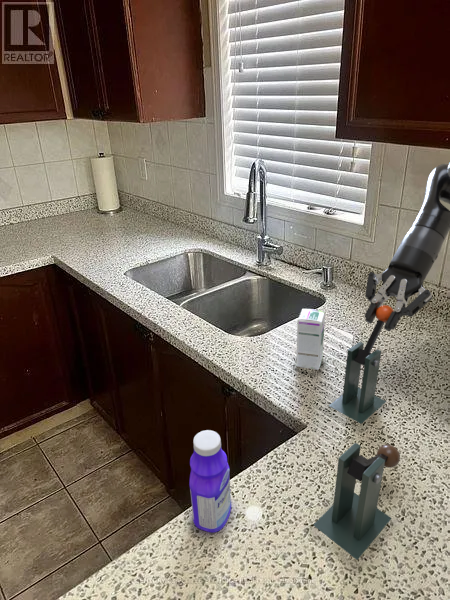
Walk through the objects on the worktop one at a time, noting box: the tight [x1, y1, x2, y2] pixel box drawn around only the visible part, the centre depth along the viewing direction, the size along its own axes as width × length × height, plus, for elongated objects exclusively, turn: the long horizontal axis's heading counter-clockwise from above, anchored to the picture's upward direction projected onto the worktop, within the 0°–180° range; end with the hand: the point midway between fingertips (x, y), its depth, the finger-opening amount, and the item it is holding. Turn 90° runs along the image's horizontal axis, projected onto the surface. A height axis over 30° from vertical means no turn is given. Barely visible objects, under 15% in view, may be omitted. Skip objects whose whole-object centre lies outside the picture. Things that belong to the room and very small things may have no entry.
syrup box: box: [295, 308, 326, 371], centre depth 108 cm, size 6×6×14 cm
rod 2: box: [347, 444, 401, 482], centre depth 69 cm, size 13×4×4 cm, turn 134°
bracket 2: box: [312, 442, 392, 561], centre depth 68 cm, size 10×8×15 cm
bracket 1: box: [328, 341, 387, 425], centre depth 93 cm, size 10×8×15 cm
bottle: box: [188, 429, 232, 534], centre depth 70 cm, size 7×6×17 cm
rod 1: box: [354, 304, 395, 367], centre depth 91 cm, size 13×4×4 cm
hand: (377, 325), depth 90 cm, fingers closed on rod 1, 3 cm apart
